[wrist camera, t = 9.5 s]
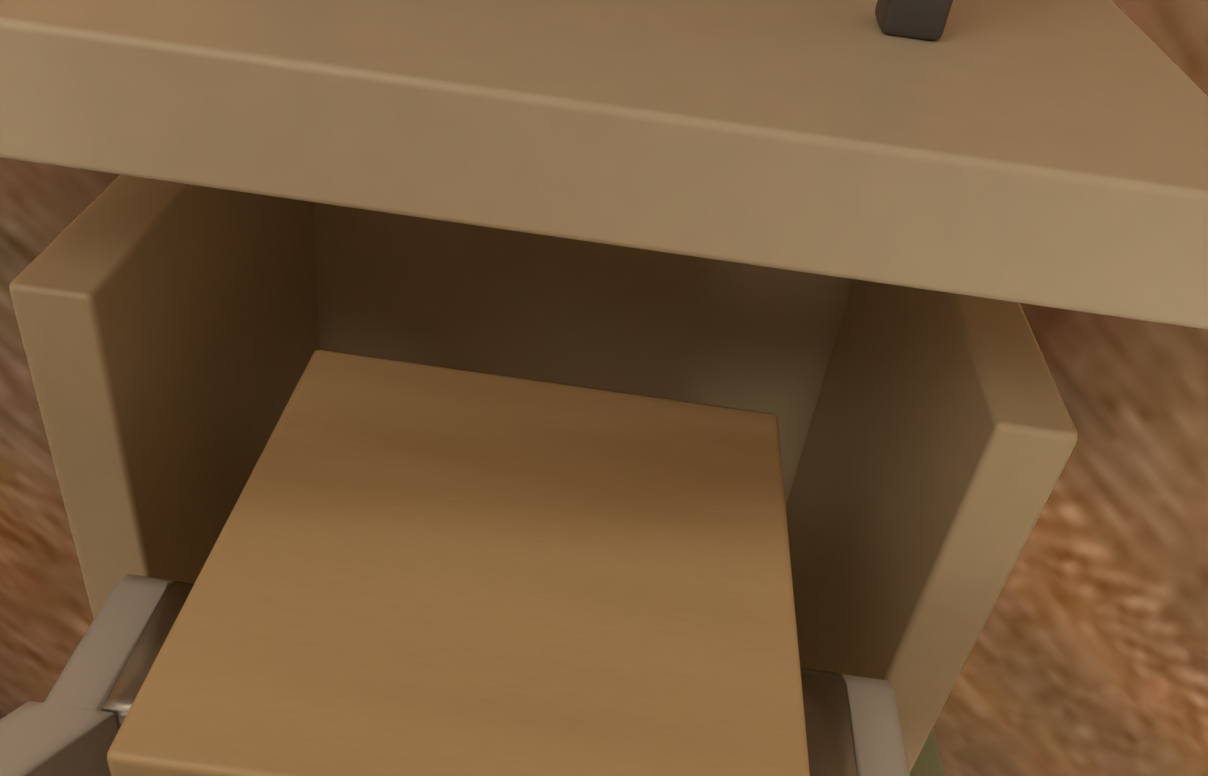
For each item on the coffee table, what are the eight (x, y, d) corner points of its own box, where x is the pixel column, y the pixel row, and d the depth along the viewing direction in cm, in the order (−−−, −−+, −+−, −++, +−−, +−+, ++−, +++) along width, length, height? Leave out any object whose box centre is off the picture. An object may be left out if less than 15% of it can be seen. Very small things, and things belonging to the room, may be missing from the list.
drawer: (160, -620, 12) (-482, -872, 5) (1200, -465, 12) (1768, -534, 5) (276, 567, 23) (113, 935, 17) (805, 641, 23) (843, 1033, 17)
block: (314, 345, 11) (100, 756, 7) (779, 412, 11) (820, 854, 7) (330, 650, 14) (185, 1058, 10) (698, 700, 14) (696, 1126, 10)
